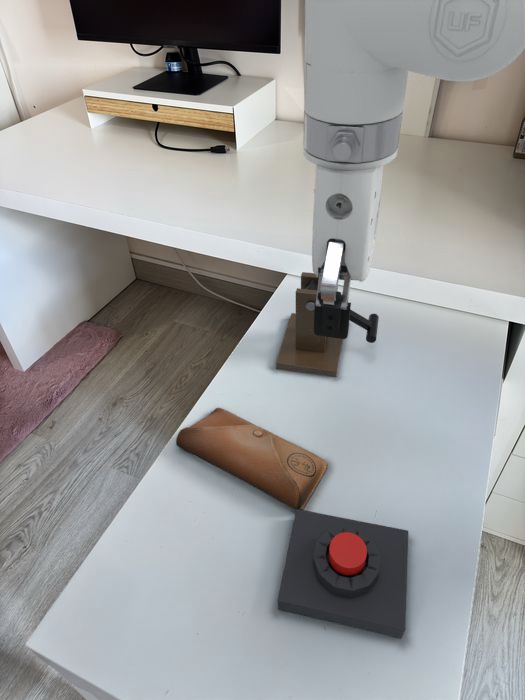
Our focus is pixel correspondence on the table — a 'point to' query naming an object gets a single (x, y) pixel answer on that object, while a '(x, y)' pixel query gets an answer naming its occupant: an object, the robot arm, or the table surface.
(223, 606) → the table surface
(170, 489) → the table surface
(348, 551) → the stop button
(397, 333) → the table surface
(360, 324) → the lever
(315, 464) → the sunglasses case
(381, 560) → the stop block
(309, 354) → the bracket
